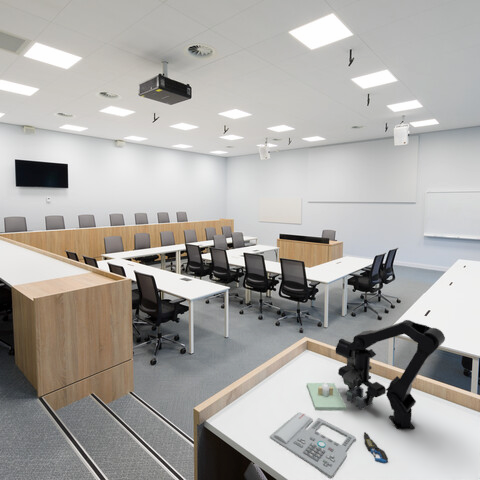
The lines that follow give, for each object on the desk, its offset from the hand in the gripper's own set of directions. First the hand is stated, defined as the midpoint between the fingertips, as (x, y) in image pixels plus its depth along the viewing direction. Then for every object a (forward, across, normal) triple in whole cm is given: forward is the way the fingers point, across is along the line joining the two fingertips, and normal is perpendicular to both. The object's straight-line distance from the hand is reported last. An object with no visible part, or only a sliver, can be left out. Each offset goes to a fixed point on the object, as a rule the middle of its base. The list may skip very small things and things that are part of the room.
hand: (359, 399), depth 129 cm
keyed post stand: (+1, -9, -10) cm, 13 cm away
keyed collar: (+1, 0, 0) cm, 1 cm away
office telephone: (+2, +6, -30) cm, 31 cm away
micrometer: (+2, +19, -15) cm, 24 cm away
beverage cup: (+1, -12, +11) cm, 16 cm away
